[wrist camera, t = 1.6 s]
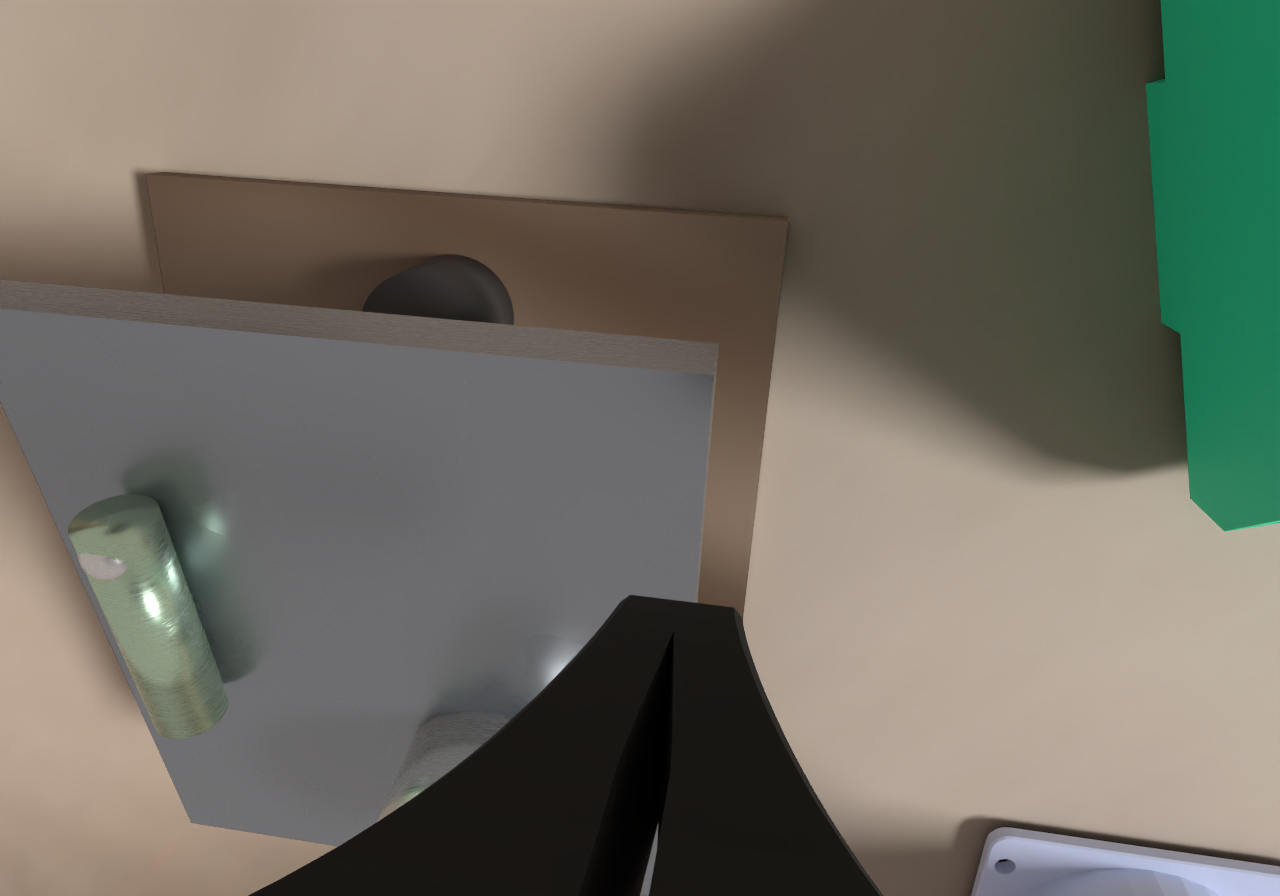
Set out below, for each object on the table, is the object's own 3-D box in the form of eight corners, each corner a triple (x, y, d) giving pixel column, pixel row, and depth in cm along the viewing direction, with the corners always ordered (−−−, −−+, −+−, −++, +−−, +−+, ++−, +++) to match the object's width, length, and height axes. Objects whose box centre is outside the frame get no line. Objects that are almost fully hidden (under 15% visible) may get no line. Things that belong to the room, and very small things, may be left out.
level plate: (676, 859, 21) (654, 1042, 18) (213, 787, 23) (113, 946, 19) (718, 343, 13) (693, 501, 10) (2, 279, 15) (-225, 401, 11)
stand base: (719, 815, 24) (713, 897, 22) (247, 745, 26) (192, 814, 23) (788, 217, 18) (790, 237, 16) (163, 171, 20) (75, 182, 17)
